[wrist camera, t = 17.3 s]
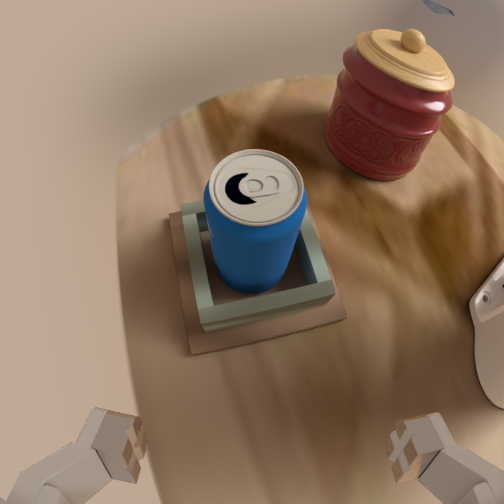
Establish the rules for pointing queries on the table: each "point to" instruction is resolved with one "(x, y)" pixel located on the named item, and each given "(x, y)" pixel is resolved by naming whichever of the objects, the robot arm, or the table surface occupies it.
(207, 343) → the cradle
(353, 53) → the canister
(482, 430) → the table surface
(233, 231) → the beverage can
